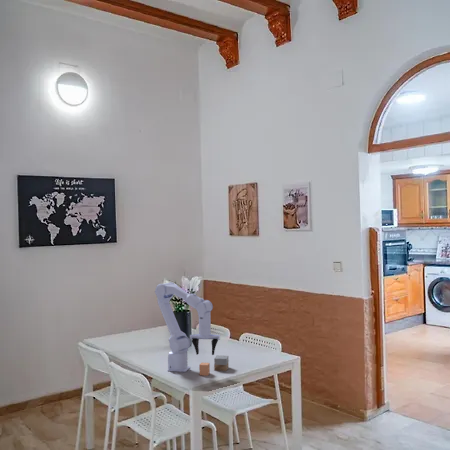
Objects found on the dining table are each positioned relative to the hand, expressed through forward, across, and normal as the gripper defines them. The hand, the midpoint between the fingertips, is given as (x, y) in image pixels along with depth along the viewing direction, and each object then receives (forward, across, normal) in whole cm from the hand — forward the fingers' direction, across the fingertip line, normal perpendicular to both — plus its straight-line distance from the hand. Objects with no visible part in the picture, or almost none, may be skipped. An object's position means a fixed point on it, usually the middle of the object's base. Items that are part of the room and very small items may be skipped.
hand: (205, 354), depth 234 cm
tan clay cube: (+10, 0, 0) cm, 10 cm away
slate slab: (+7, +6, +10) cm, 13 cm away
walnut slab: (+10, +6, +10) cm, 15 cm away
